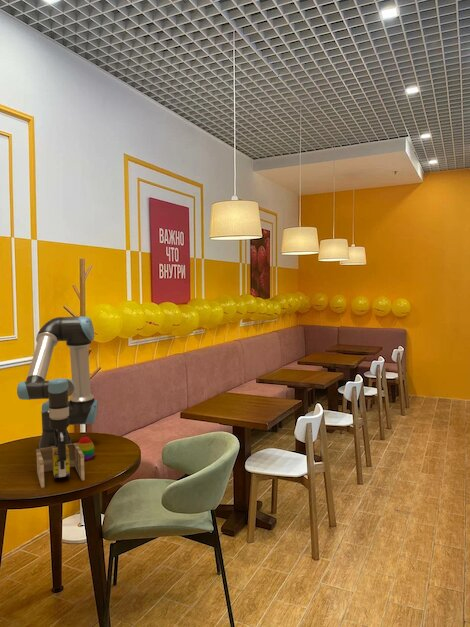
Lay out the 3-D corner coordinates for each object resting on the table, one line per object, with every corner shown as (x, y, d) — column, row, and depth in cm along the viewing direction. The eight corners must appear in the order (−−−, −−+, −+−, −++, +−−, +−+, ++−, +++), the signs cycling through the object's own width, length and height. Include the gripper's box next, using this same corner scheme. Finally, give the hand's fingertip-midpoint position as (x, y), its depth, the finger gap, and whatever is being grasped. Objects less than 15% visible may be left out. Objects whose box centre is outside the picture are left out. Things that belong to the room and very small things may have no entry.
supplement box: (54, 478, 192) (53, 451, 191) (52, 473, 197) (51, 447, 197) (70, 475, 195) (69, 449, 194) (68, 471, 200) (67, 445, 199)
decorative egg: (82, 462, 215) (81, 440, 215) (72, 459, 221) (71, 437, 220) (98, 457, 221) (97, 436, 221) (88, 454, 227) (87, 433, 226)
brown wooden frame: (36, 472, 205) (35, 449, 204) (77, 465, 212) (76, 442, 212) (40, 488, 188) (39, 462, 187) (85, 479, 195) (84, 455, 195)
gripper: (47, 413, 202) (49, 468, 203) (52, 424, 185) (54, 483, 186) (65, 411, 205) (67, 465, 206) (72, 421, 188) (74, 479, 189)
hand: (61, 473), depth 196 cm, fingers closed on supplement box, 6 cm apart
